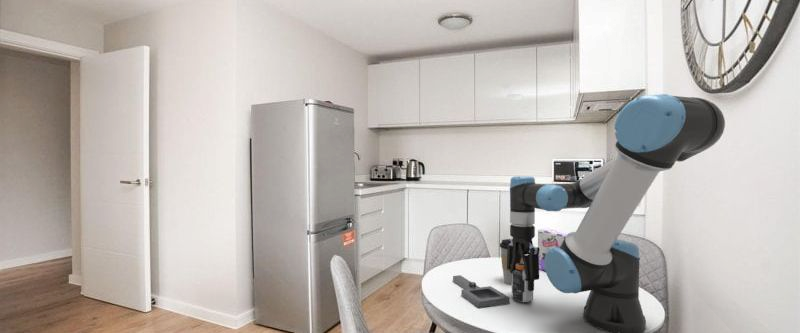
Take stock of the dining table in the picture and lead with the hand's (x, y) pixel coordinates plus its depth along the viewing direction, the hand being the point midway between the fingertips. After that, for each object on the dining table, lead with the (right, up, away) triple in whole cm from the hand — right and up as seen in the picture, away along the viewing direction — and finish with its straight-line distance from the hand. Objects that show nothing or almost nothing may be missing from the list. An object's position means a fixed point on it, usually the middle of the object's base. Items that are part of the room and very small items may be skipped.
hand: (522, 296), depth 121 cm
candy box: (+23, -1, +29) cm, 37 cm away
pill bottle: (0, -1, 0) cm, 1 cm away
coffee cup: (+2, -1, +18) cm, 18 cm away
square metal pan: (-14, -1, +7) cm, 16 cm away
